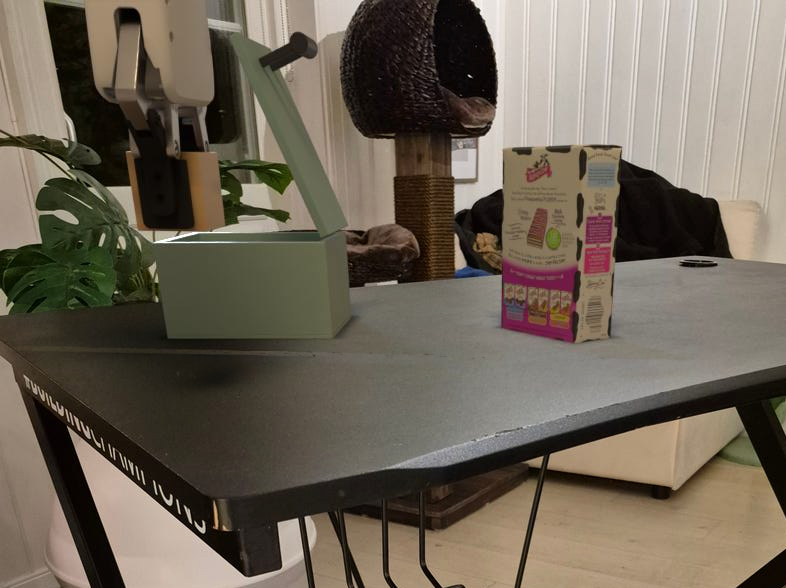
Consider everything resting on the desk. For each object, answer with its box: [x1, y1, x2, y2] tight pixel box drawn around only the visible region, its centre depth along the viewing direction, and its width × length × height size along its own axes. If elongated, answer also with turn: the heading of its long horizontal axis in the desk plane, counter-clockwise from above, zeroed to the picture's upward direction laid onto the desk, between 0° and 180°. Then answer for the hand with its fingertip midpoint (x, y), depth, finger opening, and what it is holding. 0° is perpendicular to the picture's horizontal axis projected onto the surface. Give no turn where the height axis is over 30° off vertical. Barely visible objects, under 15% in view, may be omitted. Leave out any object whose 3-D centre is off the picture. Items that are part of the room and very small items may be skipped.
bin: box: [152, 231, 352, 340], centre depth 89 cm, size 16×13×9 cm
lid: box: [228, 31, 349, 238], centre depth 82 cm, size 16×13×5 cm
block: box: [125, 150, 226, 233], centre depth 60 cm, size 5×5×5 cm
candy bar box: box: [500, 143, 623, 344], centre depth 84 cm, size 11×5×16 cm, turn 37°
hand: (181, 222), depth 61 cm, fingers closed on block, 4 cm apart
